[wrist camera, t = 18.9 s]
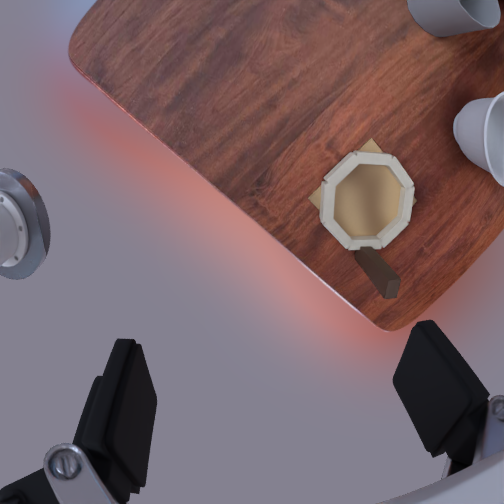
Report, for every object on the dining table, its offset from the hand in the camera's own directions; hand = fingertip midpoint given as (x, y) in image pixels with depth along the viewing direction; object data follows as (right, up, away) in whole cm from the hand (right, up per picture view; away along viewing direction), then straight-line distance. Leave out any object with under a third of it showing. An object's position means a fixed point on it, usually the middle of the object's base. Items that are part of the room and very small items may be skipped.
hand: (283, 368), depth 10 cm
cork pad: (+13, +11, +27) cm, 32 cm away
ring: (+13, +10, +27) cm, 32 cm away
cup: (+23, +36, +16) cm, 46 cm away
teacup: (+30, +20, +24) cm, 44 cm away
